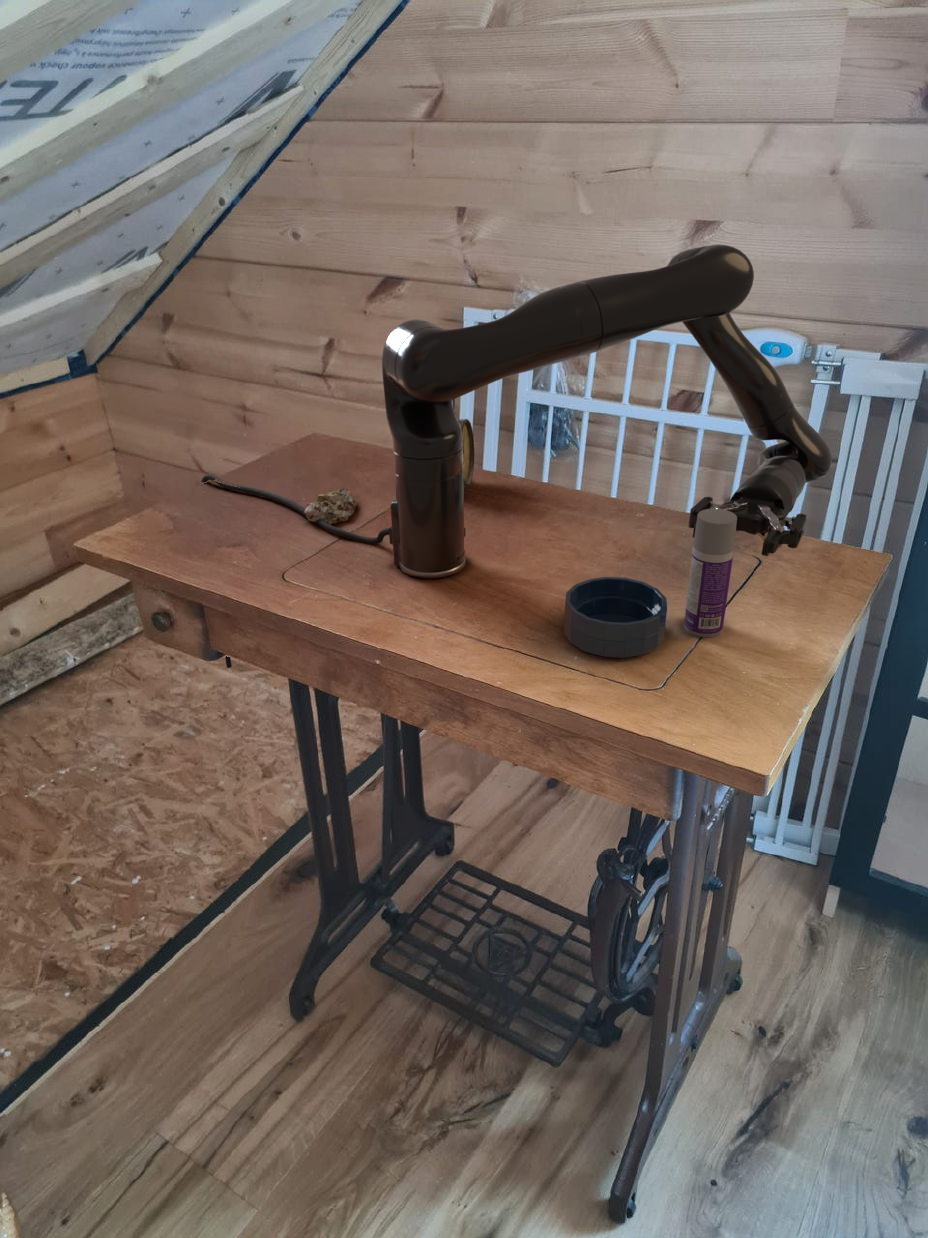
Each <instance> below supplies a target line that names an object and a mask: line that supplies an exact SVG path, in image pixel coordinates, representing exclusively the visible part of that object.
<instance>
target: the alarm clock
mask: <svg viewBox="0 0 928 1238" xmlns="http://www.w3.org/2000/svg"><path fill="white" fill-rule="evenodd" d="M452 405H453V409H454V410H455V407H456V399H453V400H452ZM454 413H455V415H456V411H454ZM457 420H458V422H459V424H460V426H461V430H462V448H463V487H468V486H470V485H471V483H472V480H473V475H474V468H475V467H474V466H475V438H474V437H475V436H474V431H473V427H472V423H471V420H469V419H468V418H457Z"/></svg>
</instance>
